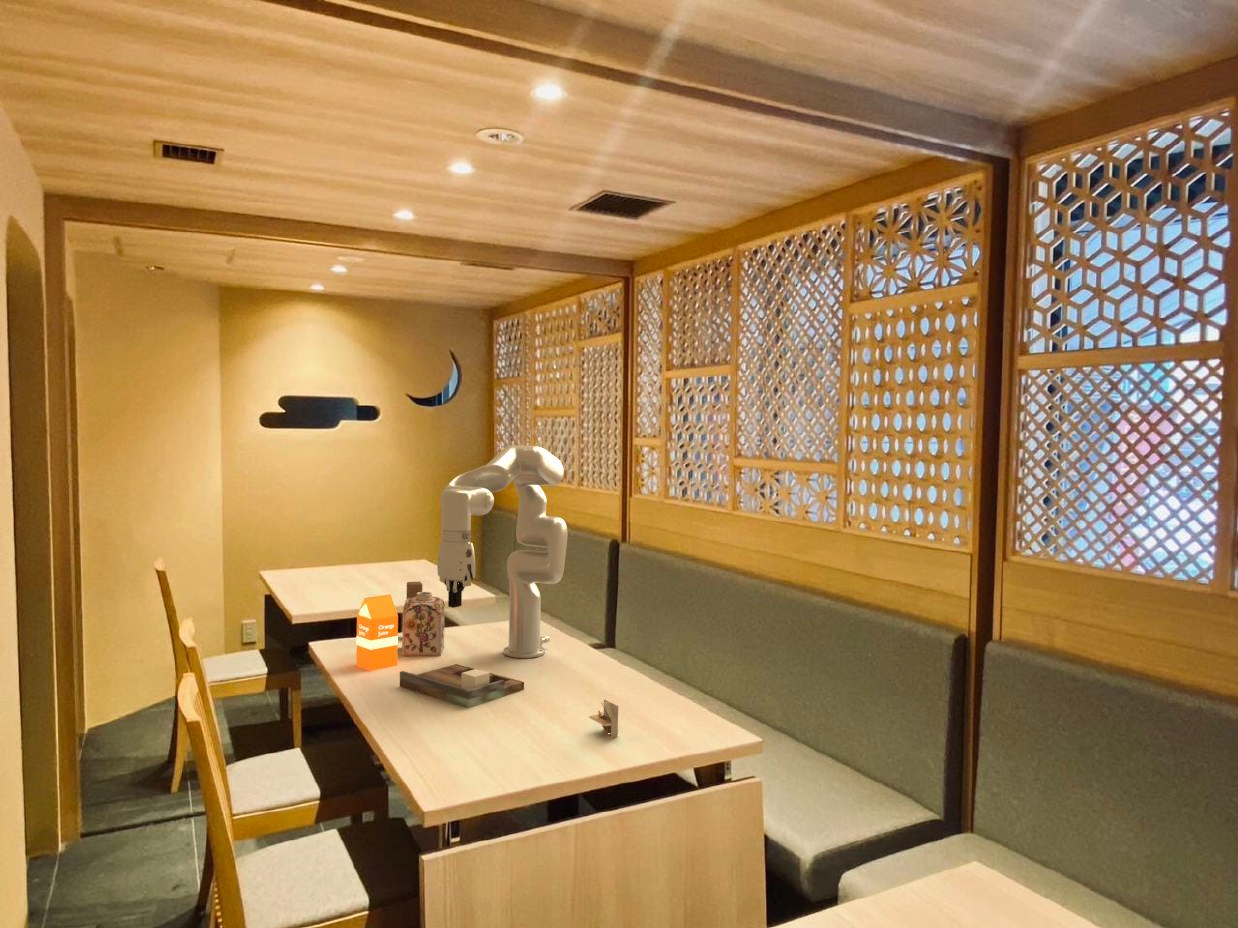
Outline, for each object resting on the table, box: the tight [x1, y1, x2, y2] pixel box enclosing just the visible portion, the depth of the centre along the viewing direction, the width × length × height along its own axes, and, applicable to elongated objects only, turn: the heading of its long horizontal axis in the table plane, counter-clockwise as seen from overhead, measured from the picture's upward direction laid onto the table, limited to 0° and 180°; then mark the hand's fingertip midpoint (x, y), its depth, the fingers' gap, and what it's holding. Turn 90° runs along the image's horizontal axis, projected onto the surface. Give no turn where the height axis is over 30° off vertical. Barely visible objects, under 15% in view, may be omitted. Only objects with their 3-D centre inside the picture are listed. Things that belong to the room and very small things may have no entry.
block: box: [461, 668, 491, 690], centre depth 224 cm, size 5×5×4 cm
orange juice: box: [355, 594, 399, 672], centre depth 252 cm, size 8×9×20 cm
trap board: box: [399, 663, 525, 709], centre depth 233 cm, size 20×26×4 cm
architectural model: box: [588, 698, 619, 738], centre depth 202 cm, size 3×7×7 cm, turn 35°
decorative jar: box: [401, 591, 445, 657], centre depth 268 cm, size 12×12×18 cm
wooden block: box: [406, 581, 424, 600], centre depth 285 cm, size 9×4×18 cm, turn 111°
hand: (454, 606), depth 230 cm, fingers closed
